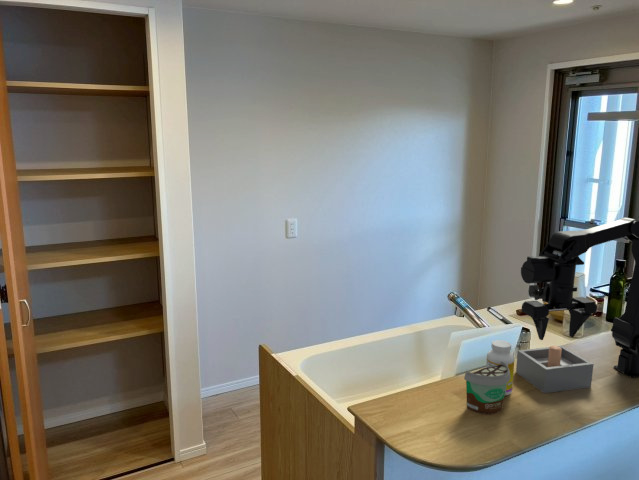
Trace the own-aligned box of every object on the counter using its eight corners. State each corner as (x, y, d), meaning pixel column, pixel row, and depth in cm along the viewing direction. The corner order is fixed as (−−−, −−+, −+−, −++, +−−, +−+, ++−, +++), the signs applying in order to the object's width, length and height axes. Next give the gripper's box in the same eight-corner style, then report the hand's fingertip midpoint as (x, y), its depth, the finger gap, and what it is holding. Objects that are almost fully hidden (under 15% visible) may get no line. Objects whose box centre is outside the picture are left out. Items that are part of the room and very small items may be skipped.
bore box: (559, 367, 146) (562, 345, 144) (590, 387, 134) (593, 363, 133) (515, 372, 143) (517, 350, 141) (543, 393, 131) (546, 369, 130)
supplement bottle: (508, 384, 135) (511, 339, 133) (515, 397, 129) (519, 349, 126) (482, 383, 136) (485, 338, 134) (487, 396, 130) (491, 348, 127)
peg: (553, 373, 140) (556, 345, 138) (561, 378, 137) (564, 350, 135) (544, 374, 139) (546, 346, 138) (551, 379, 136) (554, 351, 135)
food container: (481, 422, 118) (483, 381, 116) (462, 409, 123) (464, 371, 121) (519, 409, 123) (522, 370, 121) (499, 397, 129) (502, 360, 127)
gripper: (571, 271, 143) (565, 324, 146) (511, 275, 138) (507, 330, 142) (601, 282, 132) (594, 339, 135) (537, 286, 128) (532, 345, 131)
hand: (556, 338), depth 136 cm, fingers open, 9 cm apart
